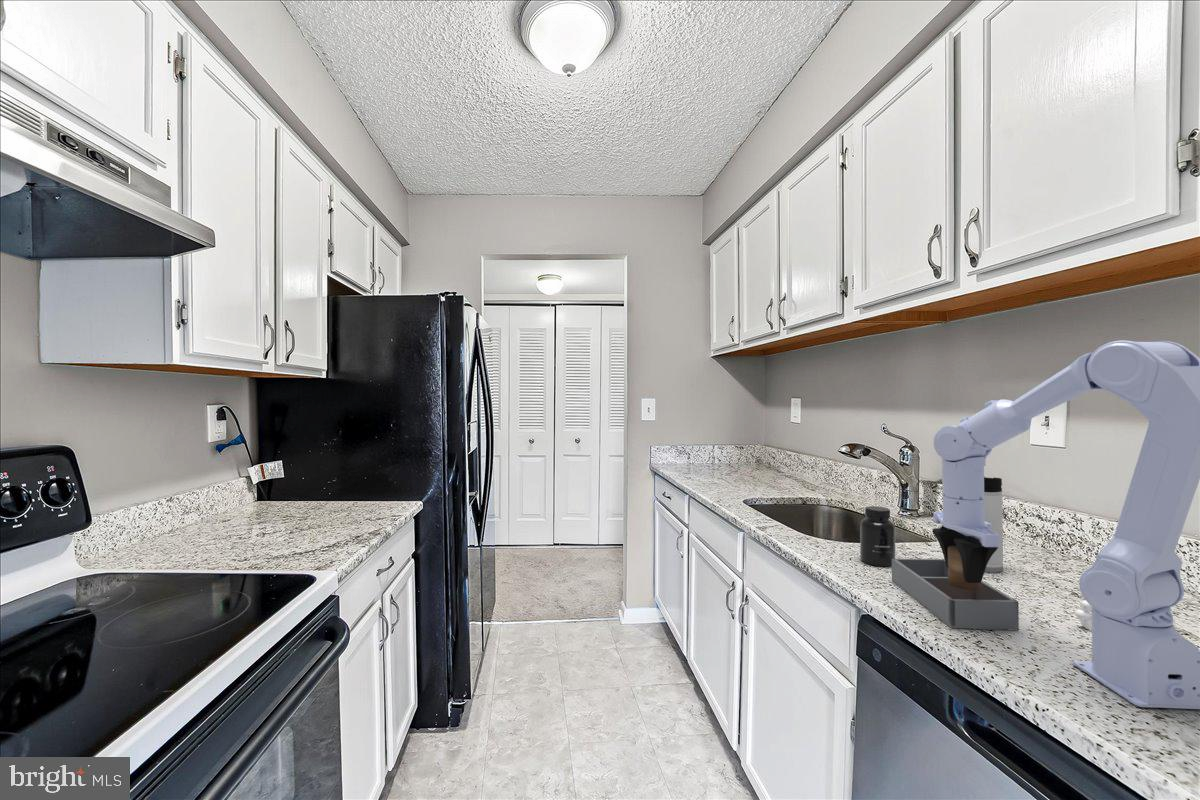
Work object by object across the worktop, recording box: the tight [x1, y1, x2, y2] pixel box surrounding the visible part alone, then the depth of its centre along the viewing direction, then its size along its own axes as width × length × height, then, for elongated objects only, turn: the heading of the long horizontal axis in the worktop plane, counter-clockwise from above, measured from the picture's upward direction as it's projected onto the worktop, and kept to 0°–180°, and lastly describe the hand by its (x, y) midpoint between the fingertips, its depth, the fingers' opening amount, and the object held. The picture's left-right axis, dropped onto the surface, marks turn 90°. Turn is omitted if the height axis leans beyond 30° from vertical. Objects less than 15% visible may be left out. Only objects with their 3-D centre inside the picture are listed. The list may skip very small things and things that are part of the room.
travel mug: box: [984, 475, 1004, 574], centre depth 105 cm, size 6×7×20 cm
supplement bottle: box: [859, 505, 896, 568], centre depth 110 cm, size 7×7×12 cm
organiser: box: [891, 558, 1020, 631], centre depth 89 cm, size 20×10×4 cm, turn 174°
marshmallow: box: [1073, 599, 1092, 631], centre depth 78 cm, size 5×1×4 cm, turn 68°
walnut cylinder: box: [948, 546, 980, 590], centre depth 84 cm, size 4×4×6 cm
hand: (963, 576), depth 84 cm, fingers closed on walnut cylinder, 4 cm apart
